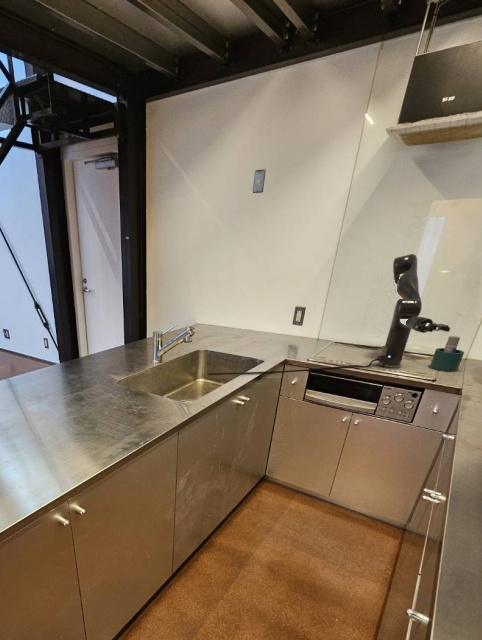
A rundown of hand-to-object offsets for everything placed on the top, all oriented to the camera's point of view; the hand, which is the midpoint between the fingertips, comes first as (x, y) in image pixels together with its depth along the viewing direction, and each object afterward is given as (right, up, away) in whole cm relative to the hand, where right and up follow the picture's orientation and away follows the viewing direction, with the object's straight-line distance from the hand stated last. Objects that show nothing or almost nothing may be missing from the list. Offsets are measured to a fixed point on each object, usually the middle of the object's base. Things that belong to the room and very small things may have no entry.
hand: (440, 329), depth 196 cm
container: (0, -20, -2) cm, 20 cm away
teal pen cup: (0, -20, -1) cm, 20 cm away
